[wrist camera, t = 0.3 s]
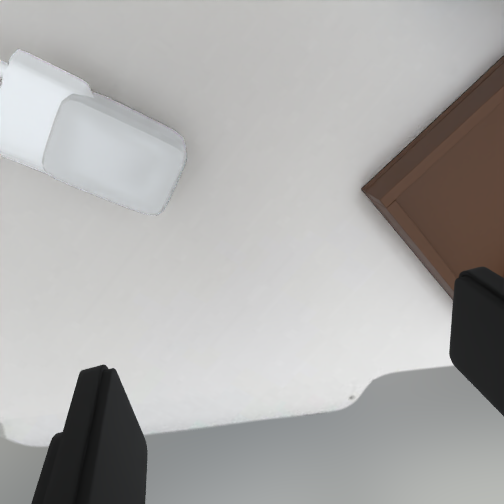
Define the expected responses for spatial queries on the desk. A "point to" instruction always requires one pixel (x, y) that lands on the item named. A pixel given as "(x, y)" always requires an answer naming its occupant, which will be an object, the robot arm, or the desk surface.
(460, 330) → the robot arm
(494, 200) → the tray
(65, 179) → the power adapter
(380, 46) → the desk surface
